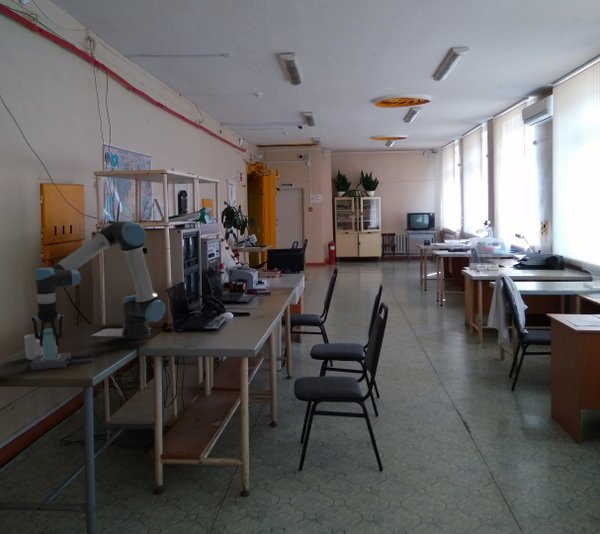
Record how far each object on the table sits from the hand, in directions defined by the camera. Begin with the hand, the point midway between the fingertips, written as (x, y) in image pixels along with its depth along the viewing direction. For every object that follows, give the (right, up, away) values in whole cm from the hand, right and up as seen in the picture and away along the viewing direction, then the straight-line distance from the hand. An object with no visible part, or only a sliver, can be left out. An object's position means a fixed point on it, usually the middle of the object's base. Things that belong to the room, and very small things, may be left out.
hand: (50, 352), depth 250 cm
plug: (0, -3, 0) cm, 3 cm away
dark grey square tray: (+12, -5, +6) cm, 14 cm away
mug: (-12, -5, +12) cm, 18 cm away
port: (0, -6, +1) cm, 6 cm away
